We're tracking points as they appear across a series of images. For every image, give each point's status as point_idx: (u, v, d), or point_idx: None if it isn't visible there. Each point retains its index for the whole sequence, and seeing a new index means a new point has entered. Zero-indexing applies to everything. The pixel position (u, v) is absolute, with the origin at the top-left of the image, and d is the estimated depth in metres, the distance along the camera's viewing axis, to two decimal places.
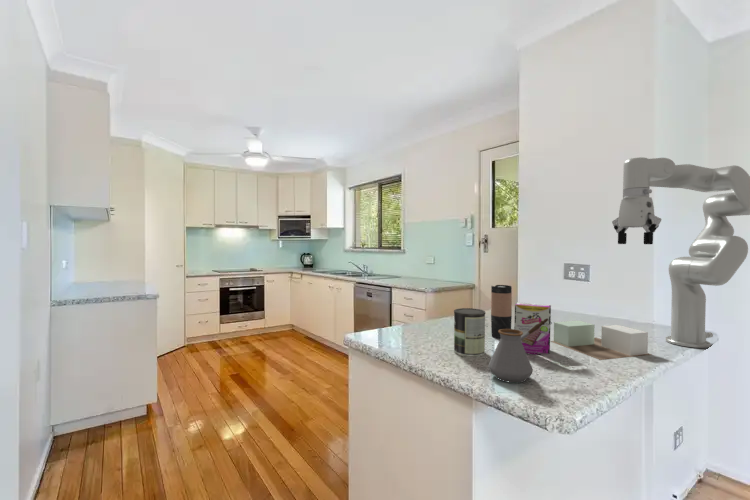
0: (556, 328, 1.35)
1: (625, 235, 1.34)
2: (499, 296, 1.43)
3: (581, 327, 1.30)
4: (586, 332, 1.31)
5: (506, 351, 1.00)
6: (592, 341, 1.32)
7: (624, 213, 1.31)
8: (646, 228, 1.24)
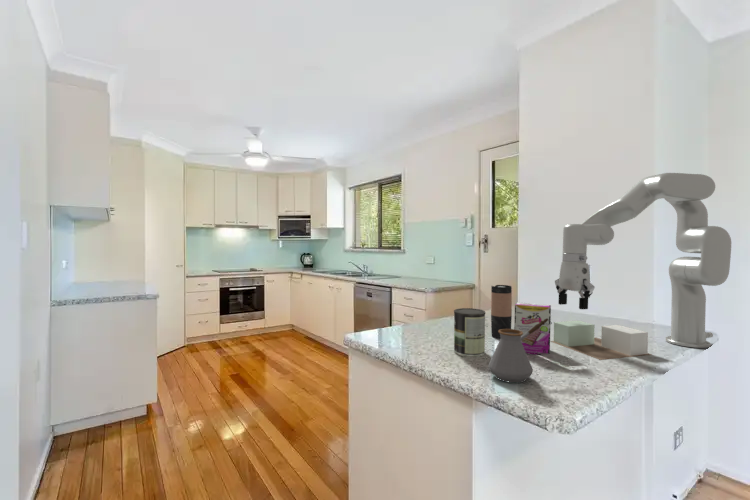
0: (556, 328, 1.35)
1: (565, 296, 1.38)
2: (499, 296, 1.43)
3: (581, 327, 1.30)
4: (586, 332, 1.31)
5: (506, 351, 1.00)
6: (592, 341, 1.32)
7: (563, 276, 1.35)
8: (581, 294, 1.28)
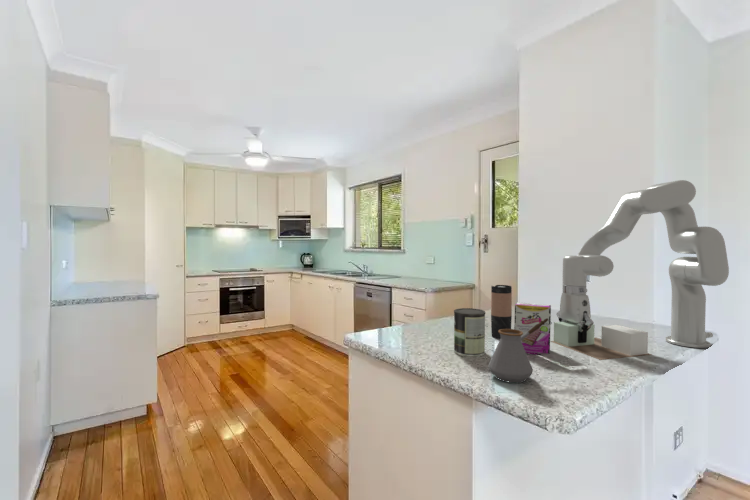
0: (556, 328, 1.35)
1: None
2: (499, 296, 1.43)
3: None
4: None
5: (506, 351, 1.00)
6: (592, 341, 1.32)
7: (564, 307, 1.35)
8: (580, 327, 1.29)
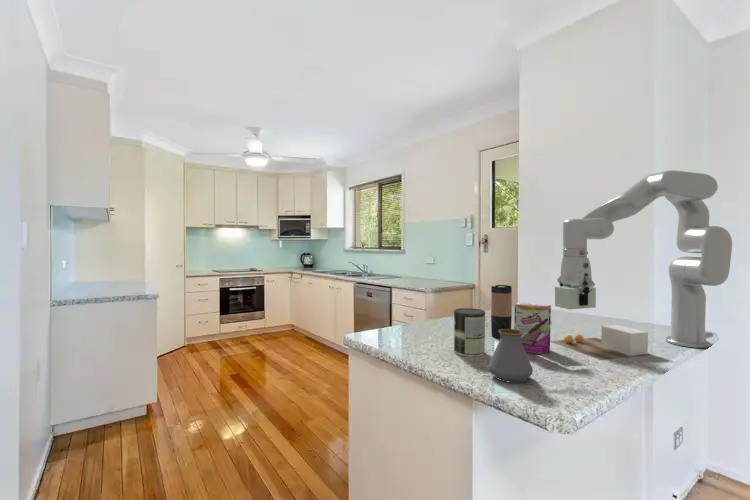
0: (557, 292, 1.34)
1: None
2: (499, 296, 1.43)
3: None
4: None
5: (506, 351, 1.00)
6: (593, 304, 1.31)
7: (565, 271, 1.35)
8: (581, 290, 1.29)
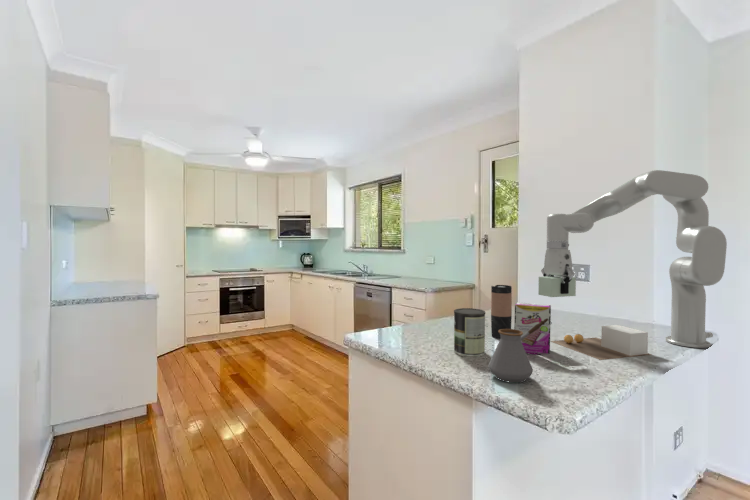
0: (540, 282, 1.45)
1: None
2: (499, 296, 1.43)
3: None
4: None
5: (506, 351, 1.00)
6: (573, 293, 1.42)
7: (548, 262, 1.45)
8: (562, 279, 1.39)
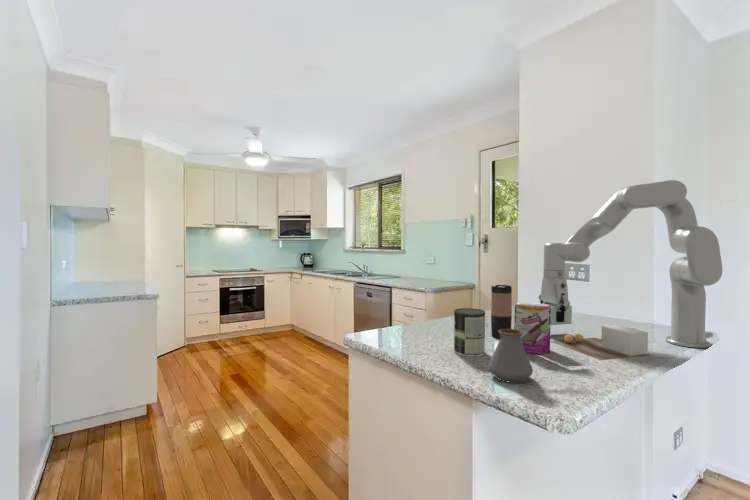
0: None
1: None
2: (499, 296, 1.43)
3: None
4: None
5: (506, 351, 1.00)
6: (569, 321, 1.44)
7: (544, 290, 1.48)
8: (558, 308, 1.42)
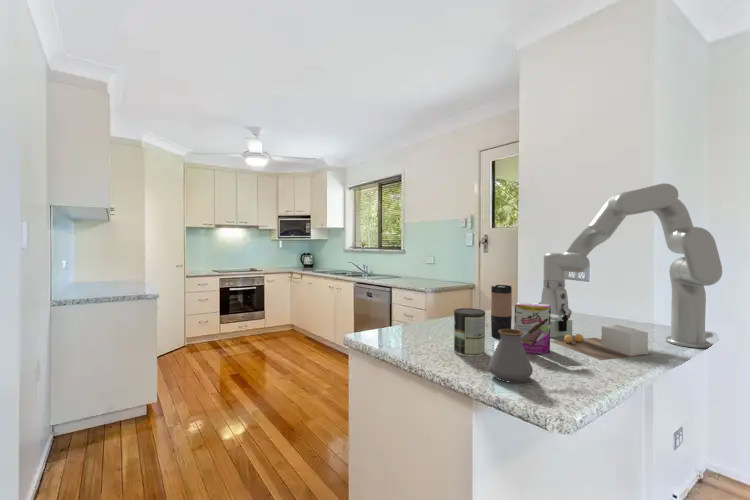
0: None
1: None
2: (499, 296, 1.43)
3: None
4: None
5: (506, 351, 1.00)
6: None
7: (544, 300, 1.48)
8: (560, 317, 1.41)
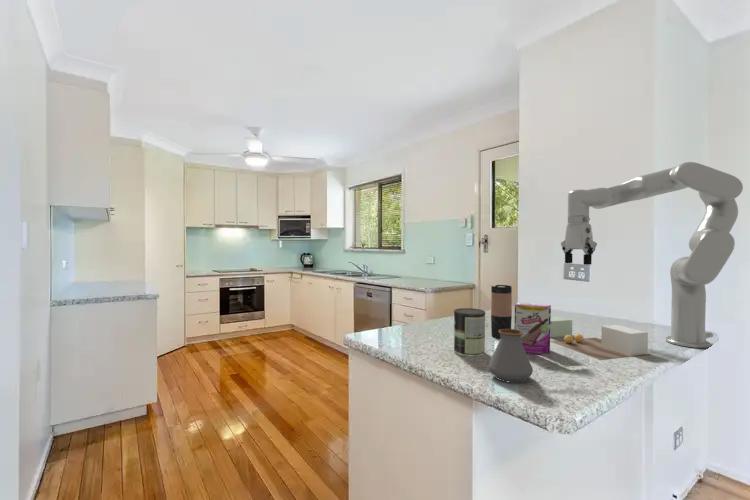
0: None
1: (571, 255, 1.54)
2: (499, 296, 1.43)
3: (560, 322, 1.43)
4: (564, 327, 1.44)
5: (506, 351, 1.00)
6: None
7: (569, 237, 1.51)
8: (585, 251, 1.44)
